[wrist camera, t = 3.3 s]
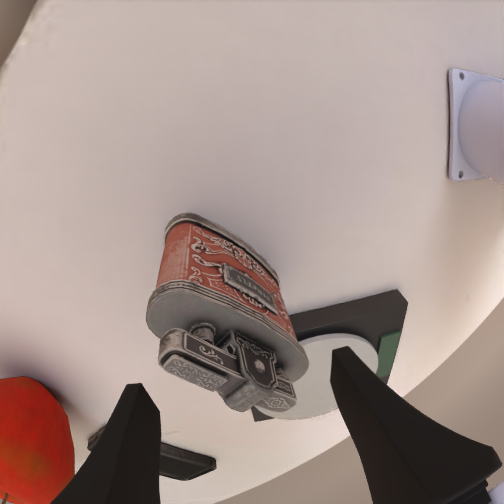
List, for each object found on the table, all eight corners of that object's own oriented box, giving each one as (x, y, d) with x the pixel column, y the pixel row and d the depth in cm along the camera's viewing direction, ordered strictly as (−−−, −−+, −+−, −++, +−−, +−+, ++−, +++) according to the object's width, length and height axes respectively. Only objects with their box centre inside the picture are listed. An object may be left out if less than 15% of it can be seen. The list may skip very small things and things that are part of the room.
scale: (397, 288, 22) (414, 310, 20) (379, 374, 28) (389, 395, 25) (231, 326, 22) (235, 355, 19) (252, 406, 27) (256, 430, 25)
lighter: (289, 273, 20) (342, 401, 12) (254, 307, 21) (285, 438, 12) (187, 199, 17) (170, 321, 8) (153, 242, 18) (119, 378, 9)
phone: (185, 481, 34) (84, 449, 27) (185, 475, 35) (86, 441, 28) (220, 466, 32) (108, 431, 25) (220, 459, 33) (109, 422, 26)
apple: (63, 431, 27) (47, 531, 15) (-20, 377, 22) (-57, 476, 10) (109, 399, 25) (93, 537, 12) (2, 327, 19) (-59, 463, 7)
